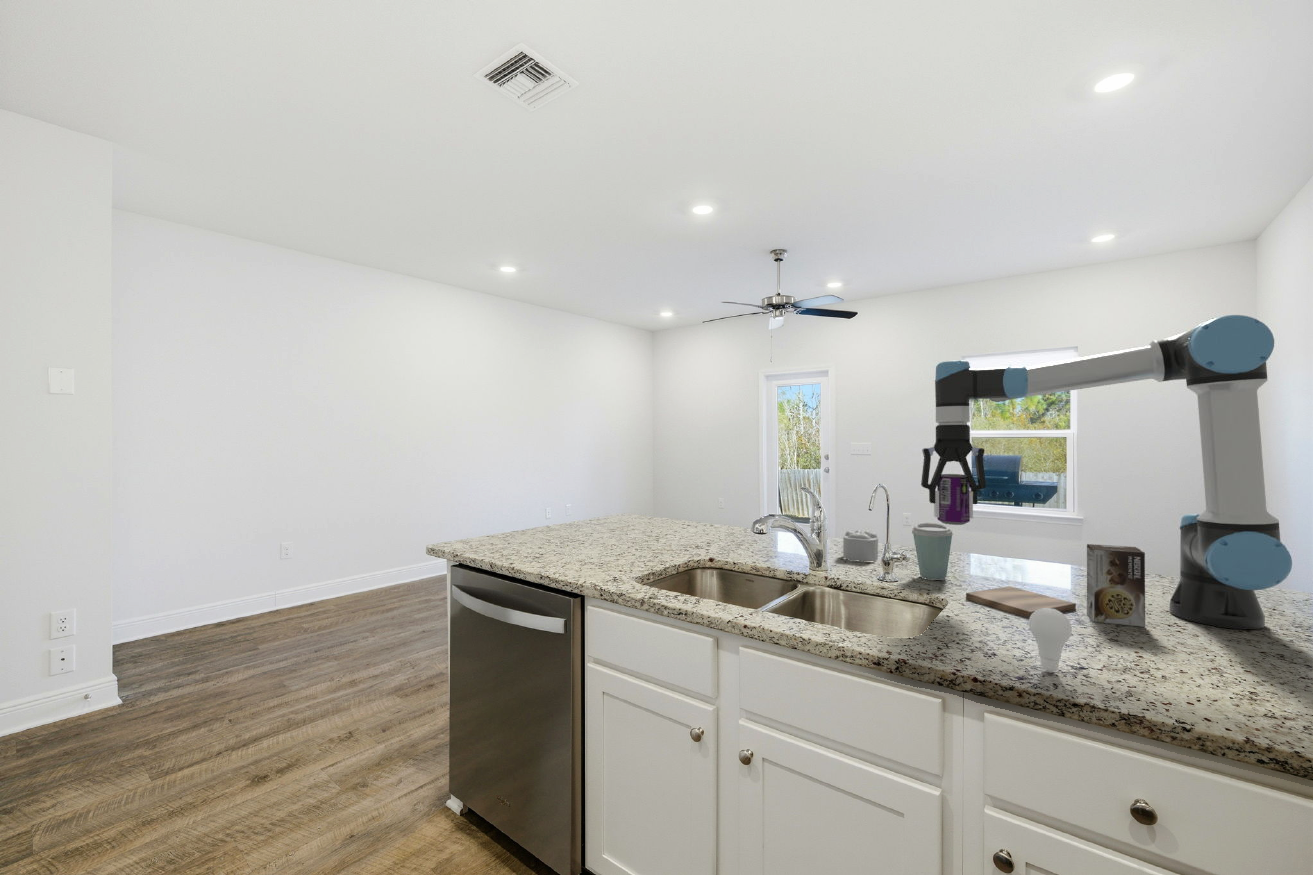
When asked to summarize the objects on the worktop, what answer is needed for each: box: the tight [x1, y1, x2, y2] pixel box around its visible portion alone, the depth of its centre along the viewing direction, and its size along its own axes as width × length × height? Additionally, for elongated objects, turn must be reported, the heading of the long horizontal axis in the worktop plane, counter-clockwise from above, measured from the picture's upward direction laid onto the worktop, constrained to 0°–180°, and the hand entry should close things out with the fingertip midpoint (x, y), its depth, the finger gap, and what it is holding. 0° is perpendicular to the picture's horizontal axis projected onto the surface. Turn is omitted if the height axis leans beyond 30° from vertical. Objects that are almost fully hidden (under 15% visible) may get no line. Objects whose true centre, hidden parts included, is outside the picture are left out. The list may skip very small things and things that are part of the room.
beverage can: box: [936, 473, 971, 526], centre depth 141 cm, size 7×7×12 cm
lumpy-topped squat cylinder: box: [842, 529, 879, 562], centre depth 187 cm, size 10×13×9 cm
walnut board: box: [965, 585, 1077, 619], centre depth 137 cm, size 16×16×2 cm
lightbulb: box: [1028, 608, 1073, 674], centre depth 98 cm, size 6×6×11 cm
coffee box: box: [1086, 543, 1146, 628], centre depth 125 cm, size 9×6×16 cm
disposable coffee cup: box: [911, 522, 954, 581], centre depth 161 cm, size 11×11×15 cm
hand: (953, 516), depth 141 cm, fingers closed on beverage can, 7 cm apart
